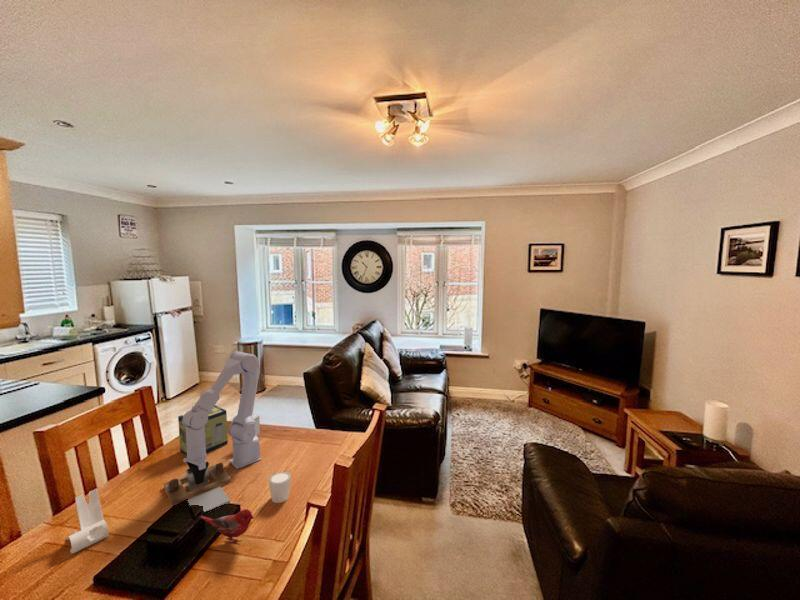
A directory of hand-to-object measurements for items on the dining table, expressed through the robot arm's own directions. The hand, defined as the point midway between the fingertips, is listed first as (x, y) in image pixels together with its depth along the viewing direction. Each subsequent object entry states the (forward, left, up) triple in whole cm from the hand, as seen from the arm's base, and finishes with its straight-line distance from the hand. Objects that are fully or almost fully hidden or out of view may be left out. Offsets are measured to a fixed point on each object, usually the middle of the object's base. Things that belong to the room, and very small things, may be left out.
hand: (197, 480), depth 119 cm
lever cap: (0, 0, -2) cm, 2 cm away
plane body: (0, 0, -2) cm, 2 cm away
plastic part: (+29, +6, -2) cm, 30 cm away
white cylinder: (-18, +27, -2) cm, 32 cm away
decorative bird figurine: (+1, +34, -2) cm, 34 cm away
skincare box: (-25, -16, -2) cm, 30 cm away
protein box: (-9, -27, -2) cm, 29 cm away
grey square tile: (0, +13, -2) cm, 13 cm away
